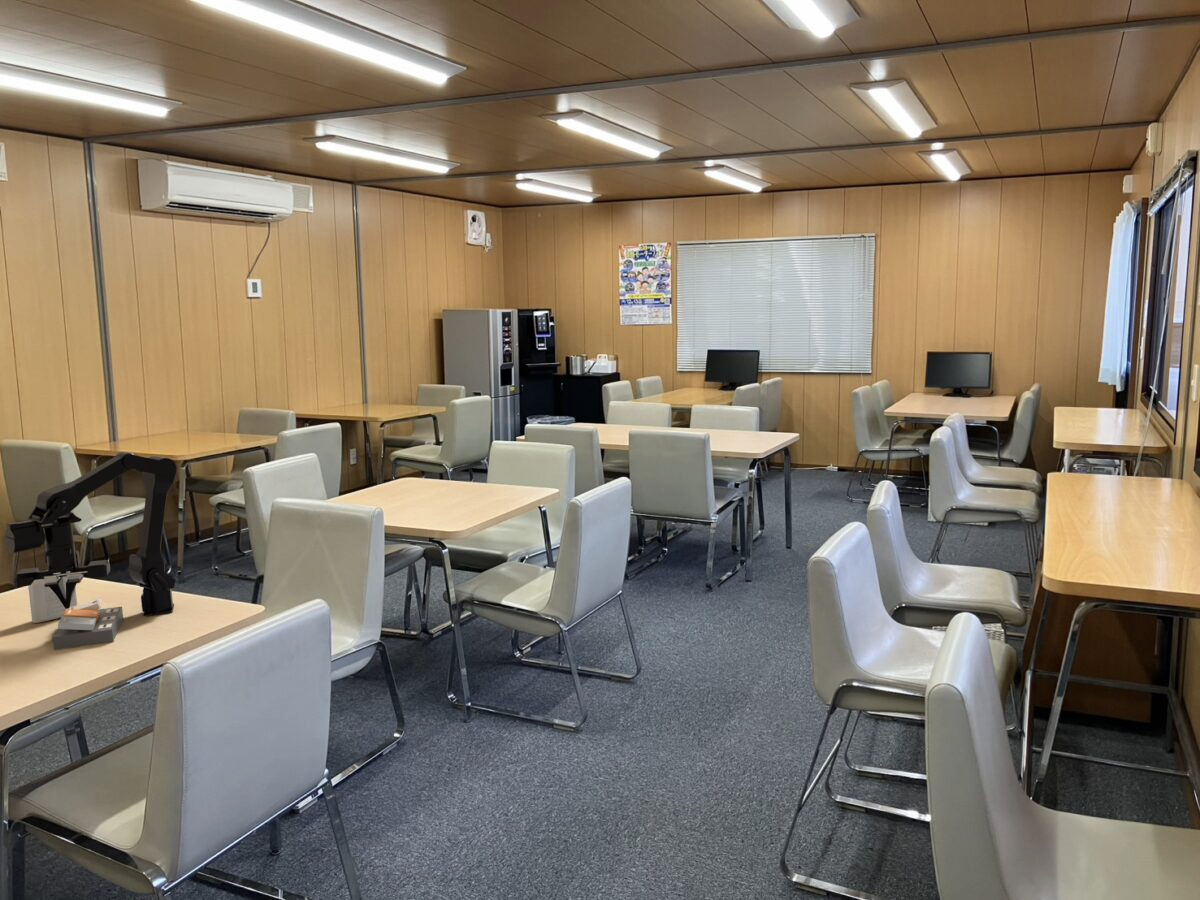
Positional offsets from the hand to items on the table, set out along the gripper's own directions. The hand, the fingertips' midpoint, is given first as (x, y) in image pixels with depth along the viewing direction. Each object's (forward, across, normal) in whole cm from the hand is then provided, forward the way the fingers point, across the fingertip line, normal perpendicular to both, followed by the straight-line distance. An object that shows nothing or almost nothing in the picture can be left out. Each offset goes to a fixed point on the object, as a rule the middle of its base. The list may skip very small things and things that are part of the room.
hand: (67, 608), depth 211 cm
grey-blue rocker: (+3, -2, +6) cm, 7 cm away
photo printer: (+7, +6, -17) cm, 19 cm away
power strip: (+7, -4, 0) cm, 8 cm away
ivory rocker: (+3, -2, -6) cm, 7 cm away
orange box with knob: (+3, -2, 0) cm, 4 cm away
